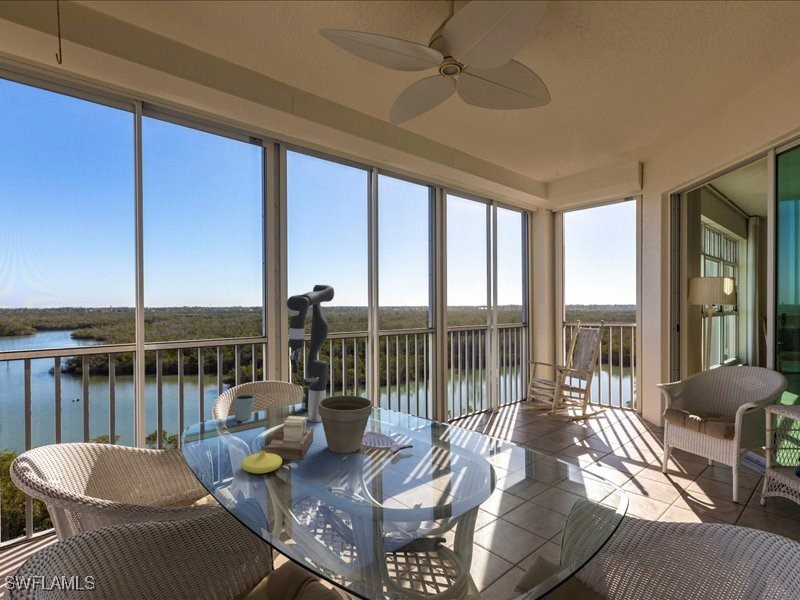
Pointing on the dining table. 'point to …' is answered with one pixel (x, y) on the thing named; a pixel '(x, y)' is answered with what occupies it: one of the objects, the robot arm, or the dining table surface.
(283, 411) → the dining table surface
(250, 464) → the yellow knobbed lid
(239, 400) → the light blue cup
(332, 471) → the dining table surface
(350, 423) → the plant pot
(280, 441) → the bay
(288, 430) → the stacked wooden blocks
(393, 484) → the dining table surface
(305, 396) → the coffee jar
